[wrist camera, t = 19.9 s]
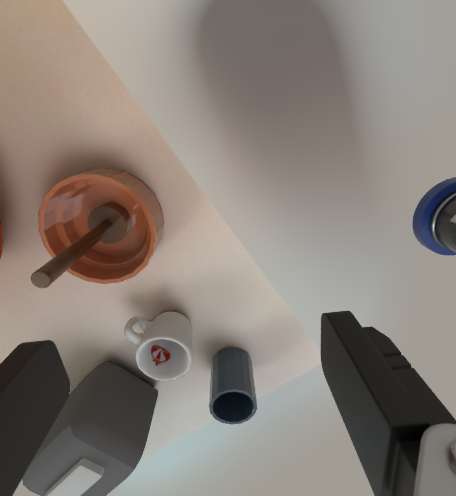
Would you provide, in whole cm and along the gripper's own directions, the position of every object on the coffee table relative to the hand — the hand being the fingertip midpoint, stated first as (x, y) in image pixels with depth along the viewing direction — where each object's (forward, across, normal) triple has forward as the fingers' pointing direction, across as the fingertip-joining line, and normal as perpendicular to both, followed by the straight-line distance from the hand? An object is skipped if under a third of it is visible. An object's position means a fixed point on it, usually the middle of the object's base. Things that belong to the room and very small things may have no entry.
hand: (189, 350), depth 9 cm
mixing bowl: (+34, +15, +4) cm, 37 cm away
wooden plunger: (+34, +15, +4) cm, 37 cm away
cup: (+34, +11, +22) cm, 42 cm away
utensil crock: (+34, +1, +32) cm, 47 cm away
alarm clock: (+34, +24, +36) cm, 55 cm away
